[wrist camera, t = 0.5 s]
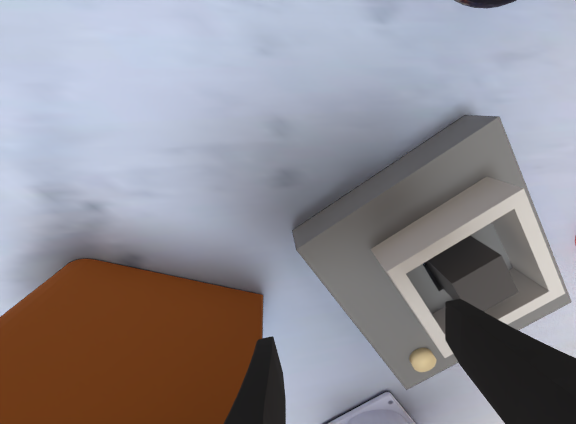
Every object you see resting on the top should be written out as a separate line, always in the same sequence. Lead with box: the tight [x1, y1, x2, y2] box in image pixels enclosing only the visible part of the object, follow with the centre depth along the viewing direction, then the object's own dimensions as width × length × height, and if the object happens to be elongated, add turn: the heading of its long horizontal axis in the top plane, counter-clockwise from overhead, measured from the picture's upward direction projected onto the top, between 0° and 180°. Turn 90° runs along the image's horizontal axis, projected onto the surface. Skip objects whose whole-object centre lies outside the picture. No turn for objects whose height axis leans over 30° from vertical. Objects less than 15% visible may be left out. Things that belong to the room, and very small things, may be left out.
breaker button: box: [426, 236, 519, 311], centre depth 18 cm, size 3×3×4 cm
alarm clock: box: [0, 259, 263, 424], centre depth 17 cm, size 15×8×14 cm, turn 73°
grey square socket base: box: [292, 115, 571, 390], centre depth 20 cm, size 16×14×6 cm
